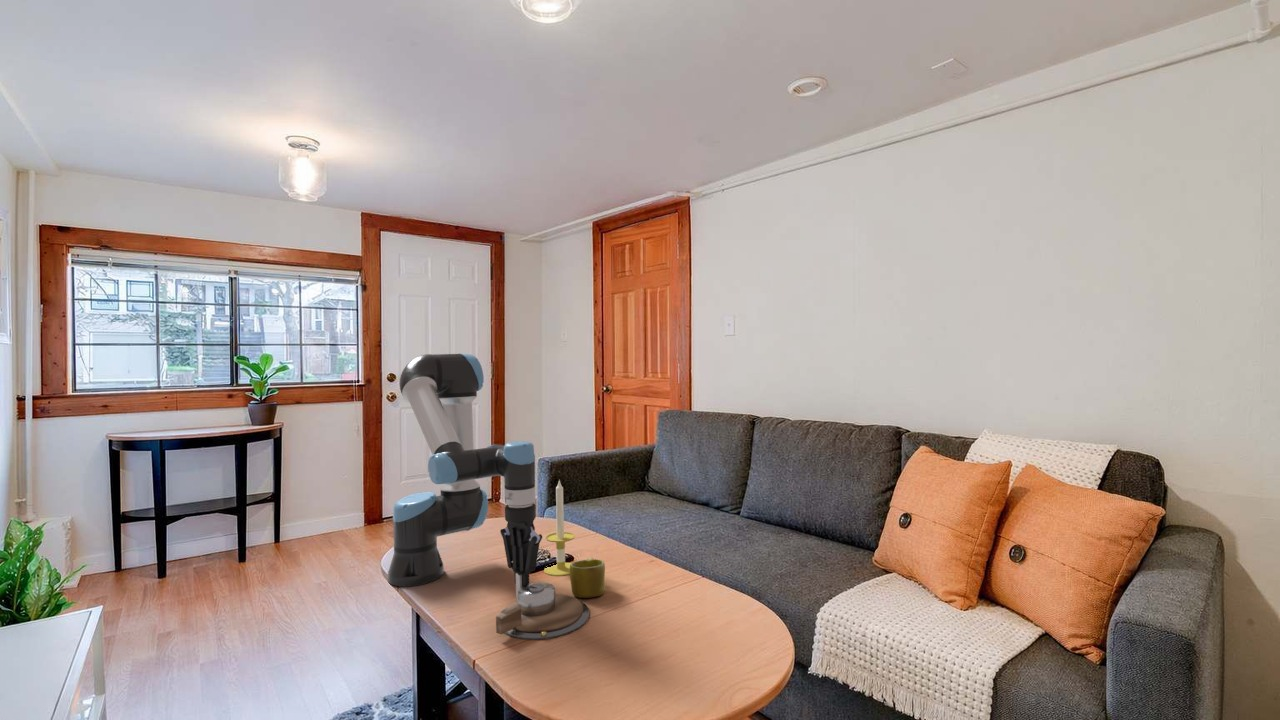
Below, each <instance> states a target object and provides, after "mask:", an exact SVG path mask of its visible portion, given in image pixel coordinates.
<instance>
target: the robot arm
mask: <svg viewBox="0 0 1280 720" xmlns="http://www.w3.org/2000/svg"><path fill="white" fill-rule="evenodd" d="M482 367H483V366H482V365H481V362H480V361H479V360H478V358H477V357H476V356H475V355H473V354H468V353H443V354H440V353H438V354H431V353H428V354H427V353H426V354H421V355H419V356H416V357H415V358H412V359H411V360H410V361H409V362H408V363H407V364H406V365H405V366H404V368H403V369H402V372H401V374H400V377H399V390H400V393H401V396H402V398H403V399H404V401H405V402H406V403H409V404H410V407H411V409H412V411H413V413H414V415H415V418H416V420H417V423H418V425H419V427H420V430H421V432H422V434H423V436H424V439H425V441H426V443H427V445H428V448H429V451H430V453H431V456H429V459H428V462H427V463H428V464H427V469H428V473H429V475H428V476H429V479H430V481H431V482H432V484H435V485H442V486H441V487H440V489H439V490H440V495H436V493H435V492H432V491H424V492H418V493H417V492H416V493H412V494H409V495H406V496H404V497H401V498H400V499H399V500H397V501H396V502H395V503H394V505H393V512H392V514H393V515H392V522H393V556H392V558H391V562H390V565H389V568H388V572H387V582H388V583H389V584H390V585H391V586H392V585H393V586H397V587H414V586H421V585H424V584H425V585H426V584H428V583H431V582H432V583H433V582H434V581H436V580H439V579H440V578H442V576H443V575H444V574H445V570H444V569H445V567H444V563H443V560H442V557H441V554H440V552H439V549H438V541H437V540H438V538H437V537H440V536H446V535H450V534H451V535H452V534H455V533H461V532H468V531H471V530H473V529H477V528H479V527H482V525H483V524H484V523H485V522H486V519H487V515H488V512H489V499H488V498H487V497H488V494H487V493H486V491H485V490H484V488H483V489H482V488H481V484H480V483H479V482H478V481H477V480H478V479H484V478H491V477H497V476H499V477H503V481H504V503H505V507H504V519H505V522H507V524H506V527H504V528H502V529H500V531H499V533H500V535H501V537H502V540H503V546H504V552H505V557H506V562H507V567H508V568H509V569H512V571H513V572H514V574H513V575H514V584H515V598H516V601H518V590H519V589H520V588H521V587H522V586H523V587H526V586H528V585H529V584H530V573H532V572H534V571H536V568H537V561H538V557H539V556H538V555H539V550H540V549H539V548H540V543H541V542H542V539H543V535H542V534H538V533H537V531H536V528H535V525H534V521H535V519H536V517H537V516H536V515H537V514H536V513H537V510H536V509H537V508H536V504H535V502H536V499H537V498H536V456H535V447H534V446H535V445H534V444H533V442H531V441H523V440H518V441H509V442H507V443H505V444H504V445H503V444H491V445H489V446H487V447H484V448H475V446H474V422H473V421H474V420H473V403H474V401H475V400H476V399H477V397H478V396H477V395H478V393H477V392H479V391H481V390H482V388H483V387H484V382H485V381H484V371H483V368H482ZM474 448H475V449H474Z"/></svg>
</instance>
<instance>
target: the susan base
mask: <svg viewBox="0 0 1280 720" xmlns="http://www.w3.org/2000/svg"><path fill="white" fill-rule="evenodd" d="M578 600H579V601H580V602H581V603H582V605H583V614H582V616H581V617H580V618H579V619H578V620H577V621H576V622H575V623H573V624H571V625H569V626H567V627H564V628H561V629H558V630H554V631H548V632H546V631H542V632H523V631H519V630H515V629H511V630H509V631H507V632H505V633H504V634H505V635H507V636H509V637H512V638H516V639H521V640H534V641H535V640H537V641H539V640H549V639H553V638H559V637H562V636H566V635H568V634H570V633H573V632H575V631H577V630H578V629H581V628H582V627H583V626H584V625H585V624H586V623H587V622H588V620H589V619H590V618H589V617H590V609H589V606H587V604H586V603H585V602H583V601H581V600H580V599H578ZM506 608H507V607H505V608H504V609H503V610H501V612H500V613H499V614H501V613H504V611H505V610H506Z"/></svg>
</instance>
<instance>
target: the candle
mask: <svg viewBox="0 0 1280 720" xmlns="http://www.w3.org/2000/svg"><path fill="white" fill-rule="evenodd" d="M555 501H556V502H555V503H556V505H555V510H556V515H555V516H556V517H555V518H556V532H552V533H550V534H548V535H546V537H545V539H546V541H548V542H551V543H555V544H556V545H555V547H556V563H557V564H556V565H553V566H551V567H547V566H546V567H547V568H545V567H544V570H543V572H544V573H545V574H546V575H548V576H553V577H564V576H570V564H571V563H572V562H566V542H570V541H573V540H574V539H575V537H576V535H575V534H574V533H573V532H568V531H565V526H564V525H565V523H564V522H565V521H564V520H565V519H564V516H565V515H564V514H565V513H564V511H565V510H564V509H565V508H564V487H563V486H562V484H561V480H560V479H558V483H557V486H556V487H555Z"/></svg>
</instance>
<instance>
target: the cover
mask: <svg viewBox="0 0 1280 720" xmlns="http://www.w3.org/2000/svg"><path fill="white" fill-rule="evenodd" d="M555 594H556V586H555V585H553V584H552V583H548V582H543V581H542V582H538V581H537V582H531V583H529V585H528V586H526V587H523V586H522V587H521V588H520V589H519V590H518V600H517V601H518V608H520V609H521V614H522V615H525V616H542V615H546V614H548V613H550V612H552V611H553V610H554V609H555V607H556V604H555Z"/></svg>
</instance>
